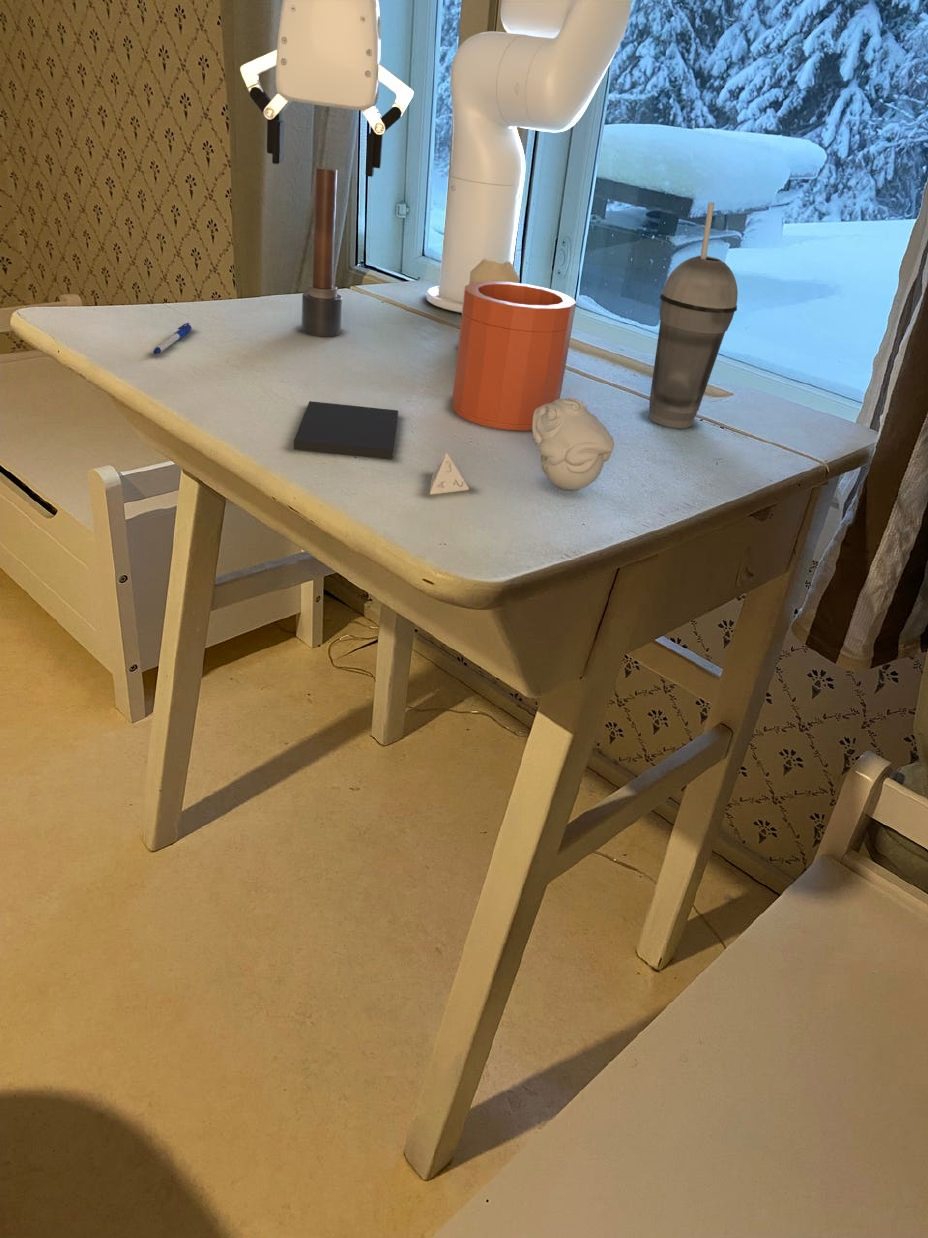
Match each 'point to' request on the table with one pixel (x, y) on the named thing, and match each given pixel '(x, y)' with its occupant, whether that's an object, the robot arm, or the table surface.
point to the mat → (347, 430)
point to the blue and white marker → (173, 338)
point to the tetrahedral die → (447, 478)
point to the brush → (323, 263)
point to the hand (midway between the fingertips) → (323, 168)
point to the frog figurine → (570, 443)
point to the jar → (510, 352)
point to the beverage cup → (690, 334)
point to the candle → (493, 272)
